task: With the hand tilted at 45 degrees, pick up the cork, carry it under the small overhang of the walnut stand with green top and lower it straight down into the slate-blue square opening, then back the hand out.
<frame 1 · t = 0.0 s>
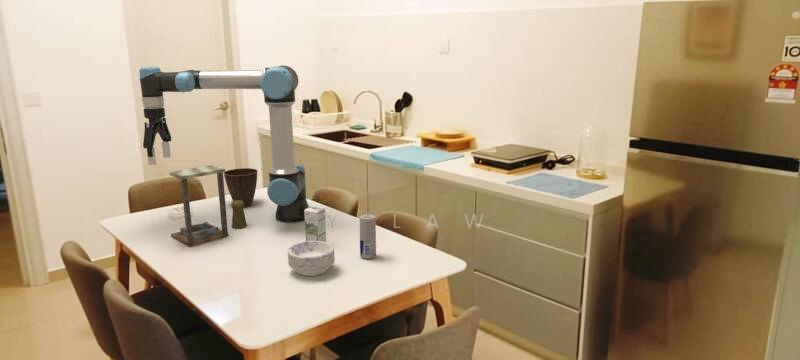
hand: (159, 161, 219), 28 cm above the table, tool pointing down, fingers open, 13 cm apart
paper bowls: (312, 271, 184), on the table
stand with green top: (200, 236, 216), on the table
cork: (239, 227, 227), on the table
syrup box: (316, 246, 206), on the table
plant pot: (243, 205, 257), on the table
beverage can: (368, 257, 195), on the table
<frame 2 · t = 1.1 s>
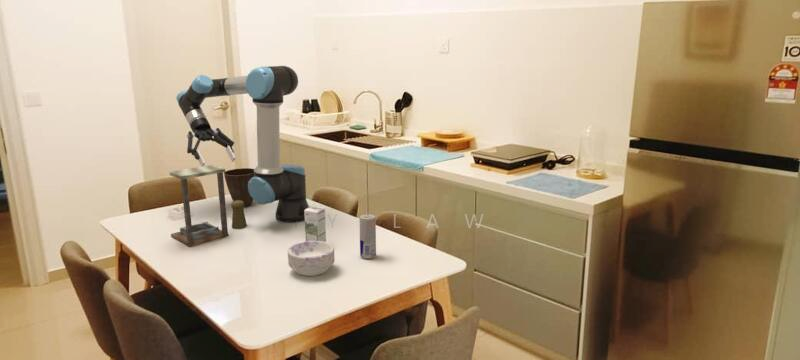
hand: (219, 162, 228), 26 cm above the table, tool tilted 45°, fingers open, 13 cm apart
nothing on the table moved.
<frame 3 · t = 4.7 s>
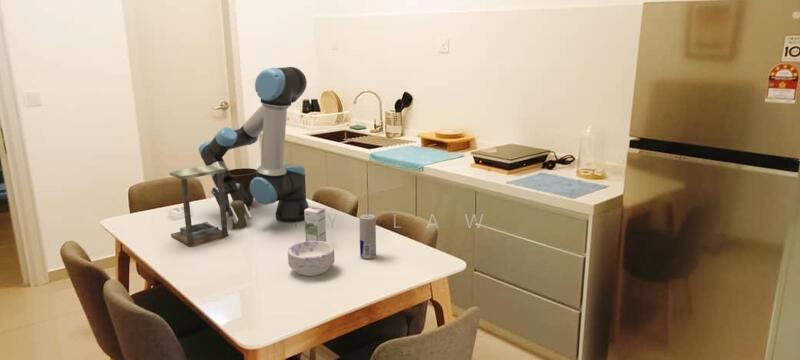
hand: (243, 220, 224), 4 cm above the table, tool tilted 45°, fingers closed on cork, 5 cm apart
cork: (239, 227, 227), on the table, touching gripper
everything else where it was.
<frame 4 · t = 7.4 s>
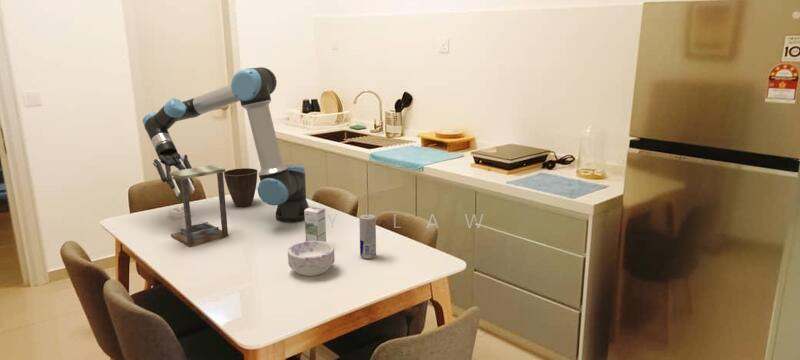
hand: (185, 192, 218), 16 cm above the table, tool tilted 45°, fingers closed on cork, 5 cm apart
cork: (182, 200, 221), point 12 cm above the table, touching gripper
everything else where it was.
when the fingers open (6 cm above the table, at t = 10.2 s): cork drops 2 cm, resting on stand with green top.
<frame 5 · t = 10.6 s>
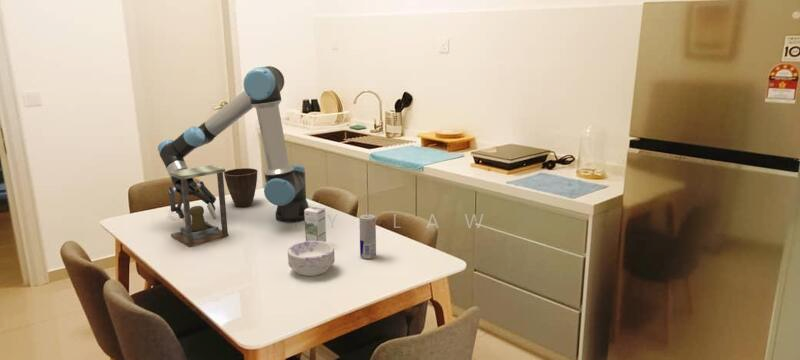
hand: (201, 221, 212), 7 cm above the table, tool tilted 45°, fingers open, 10 cm apart
cork: (199, 233, 215), point 1 cm above the table, touching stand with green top
everything else where it was.
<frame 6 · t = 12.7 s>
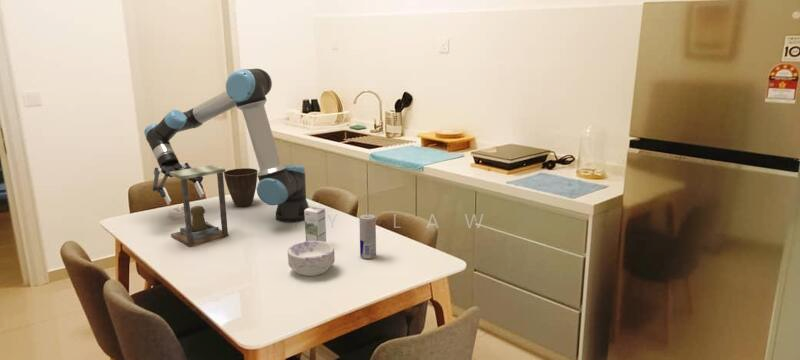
hand: (186, 199, 221), 13 cm above the table, tool tilted 45°, fingers open, 13 cm apart
nothing on the table moved.
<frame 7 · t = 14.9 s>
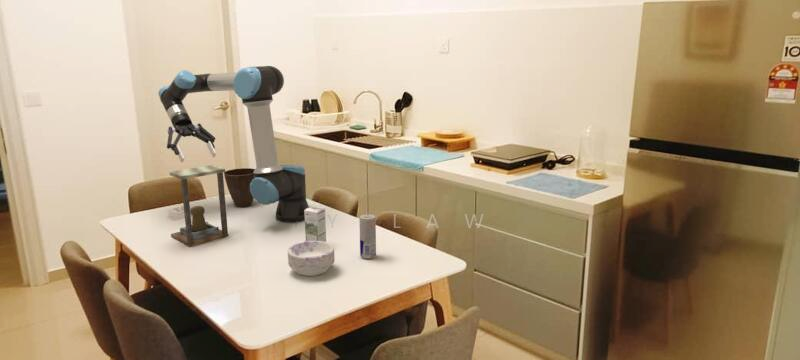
hand: (199, 157, 227), 28 cm above the table, tool tilted 45°, fingers open, 13 cm apart
nothing on the table moved.
at the end: cork 0.1 cm off-centre on the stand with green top, point 1.0 cm above the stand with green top's base; cork tilted 0°; the gripper is holding nothing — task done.
